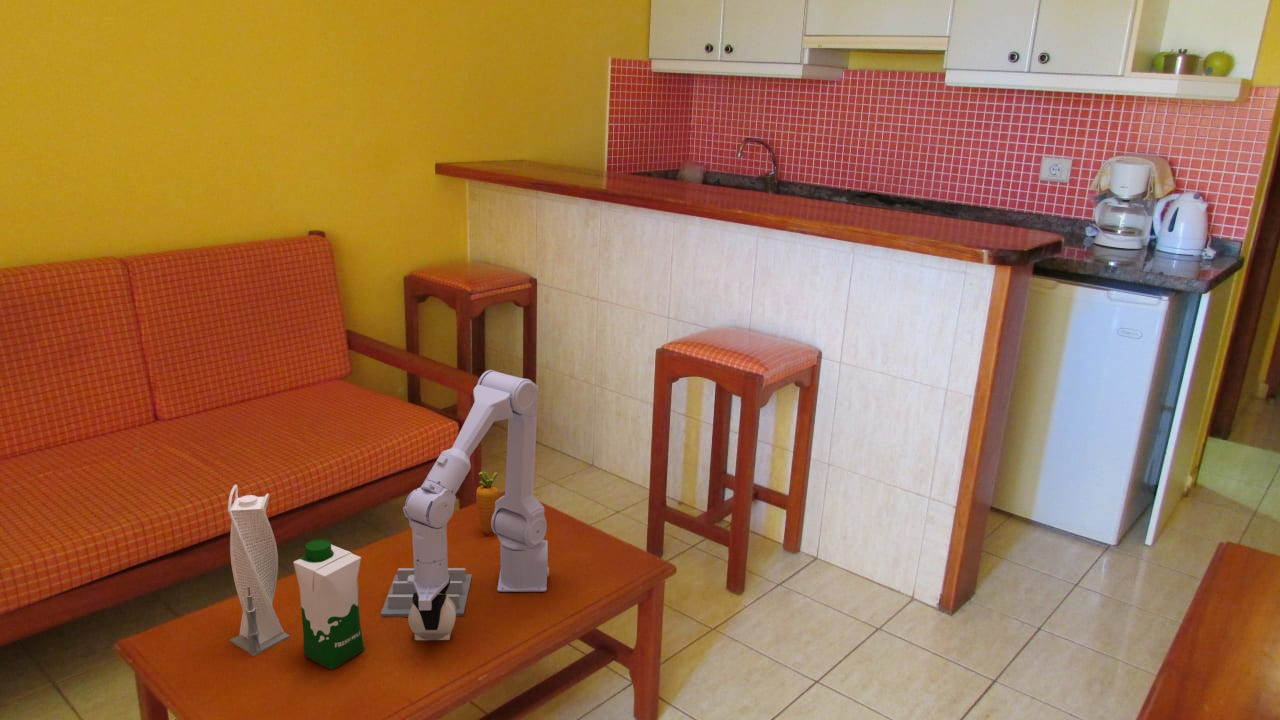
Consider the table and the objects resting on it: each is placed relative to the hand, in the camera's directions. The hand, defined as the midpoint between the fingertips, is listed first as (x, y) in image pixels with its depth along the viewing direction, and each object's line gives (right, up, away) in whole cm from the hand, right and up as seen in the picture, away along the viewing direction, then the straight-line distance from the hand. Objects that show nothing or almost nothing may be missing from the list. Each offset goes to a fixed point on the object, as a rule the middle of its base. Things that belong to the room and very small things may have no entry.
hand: (432, 623), depth 158 cm
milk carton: (-16, -4, -5) cm, 17 cm away
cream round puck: (0, -2, +1) cm, 2 cm away
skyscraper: (-30, -2, -1) cm, 30 cm away
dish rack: (-4, +1, +13) cm, 14 cm away
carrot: (+3, +8, +38) cm, 39 cm away
